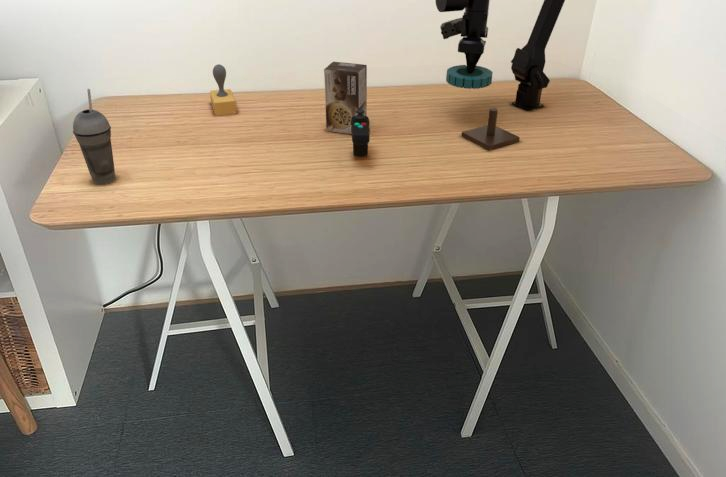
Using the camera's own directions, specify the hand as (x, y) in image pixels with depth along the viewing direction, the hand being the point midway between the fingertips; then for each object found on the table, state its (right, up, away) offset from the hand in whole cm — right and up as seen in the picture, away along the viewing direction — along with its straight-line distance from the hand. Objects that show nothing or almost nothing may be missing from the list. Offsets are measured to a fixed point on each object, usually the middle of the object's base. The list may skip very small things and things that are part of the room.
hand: (470, 71), depth 160 cm
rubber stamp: (-66, -8, +9) cm, 67 cm away
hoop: (-1, -3, -3) cm, 5 cm away
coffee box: (-32, -16, -3) cm, 36 cm away
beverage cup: (-83, -31, -28) cm, 93 cm away
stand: (+4, -19, -8) cm, 21 cm away
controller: (-29, -25, -17) cm, 41 cm away
